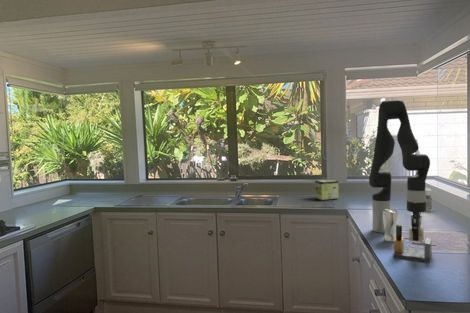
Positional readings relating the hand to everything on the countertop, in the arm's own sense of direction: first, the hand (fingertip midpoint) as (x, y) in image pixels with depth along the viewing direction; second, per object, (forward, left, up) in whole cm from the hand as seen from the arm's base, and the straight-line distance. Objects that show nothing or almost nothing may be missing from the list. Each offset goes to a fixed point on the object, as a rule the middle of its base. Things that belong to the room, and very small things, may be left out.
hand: (416, 238), depth 158 cm
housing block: (0, 0, 0) cm, 0 cm away
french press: (-101, -5, -8) cm, 101 cm away
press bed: (0, -2, -8) cm, 8 cm away
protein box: (-114, -76, -8) cm, 137 cm away
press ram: (0, -7, -6) cm, 9 cm away
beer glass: (-20, -14, -8) cm, 25 cm away
